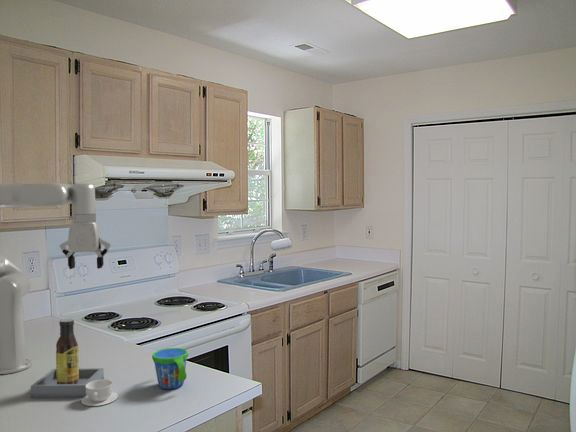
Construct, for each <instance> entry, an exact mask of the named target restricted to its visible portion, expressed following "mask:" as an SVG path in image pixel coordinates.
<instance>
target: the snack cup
mask: <svg viewBox="0 0 576 432" xmlns="http://www.w3.org/2000/svg"><path fill="white" fill-rule="evenodd" d="M188 357H189V352H188V350H187V349H184V348H182V347H181V348H179V347H170V348H169V347H168V348H163V349H160V350H157V351H155V352H154V353H152V355H151V360H152V362H154V363H153V364H154V368H155V375H156V379H157V383H158V387H159V388H161V389H163V390H174V389H178V388H180V387H182V386H183V385H184V382H185V380H186V378H187V371H186V367H187V366H186V365H187V359H188Z"/></svg>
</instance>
